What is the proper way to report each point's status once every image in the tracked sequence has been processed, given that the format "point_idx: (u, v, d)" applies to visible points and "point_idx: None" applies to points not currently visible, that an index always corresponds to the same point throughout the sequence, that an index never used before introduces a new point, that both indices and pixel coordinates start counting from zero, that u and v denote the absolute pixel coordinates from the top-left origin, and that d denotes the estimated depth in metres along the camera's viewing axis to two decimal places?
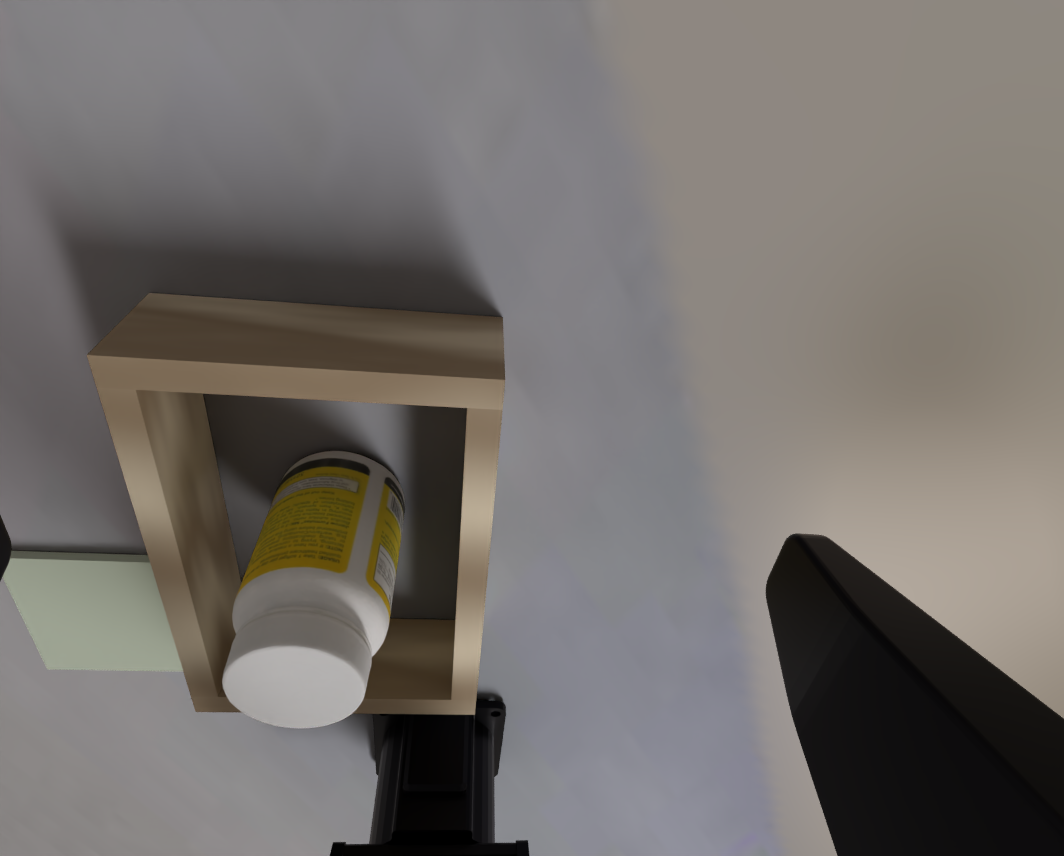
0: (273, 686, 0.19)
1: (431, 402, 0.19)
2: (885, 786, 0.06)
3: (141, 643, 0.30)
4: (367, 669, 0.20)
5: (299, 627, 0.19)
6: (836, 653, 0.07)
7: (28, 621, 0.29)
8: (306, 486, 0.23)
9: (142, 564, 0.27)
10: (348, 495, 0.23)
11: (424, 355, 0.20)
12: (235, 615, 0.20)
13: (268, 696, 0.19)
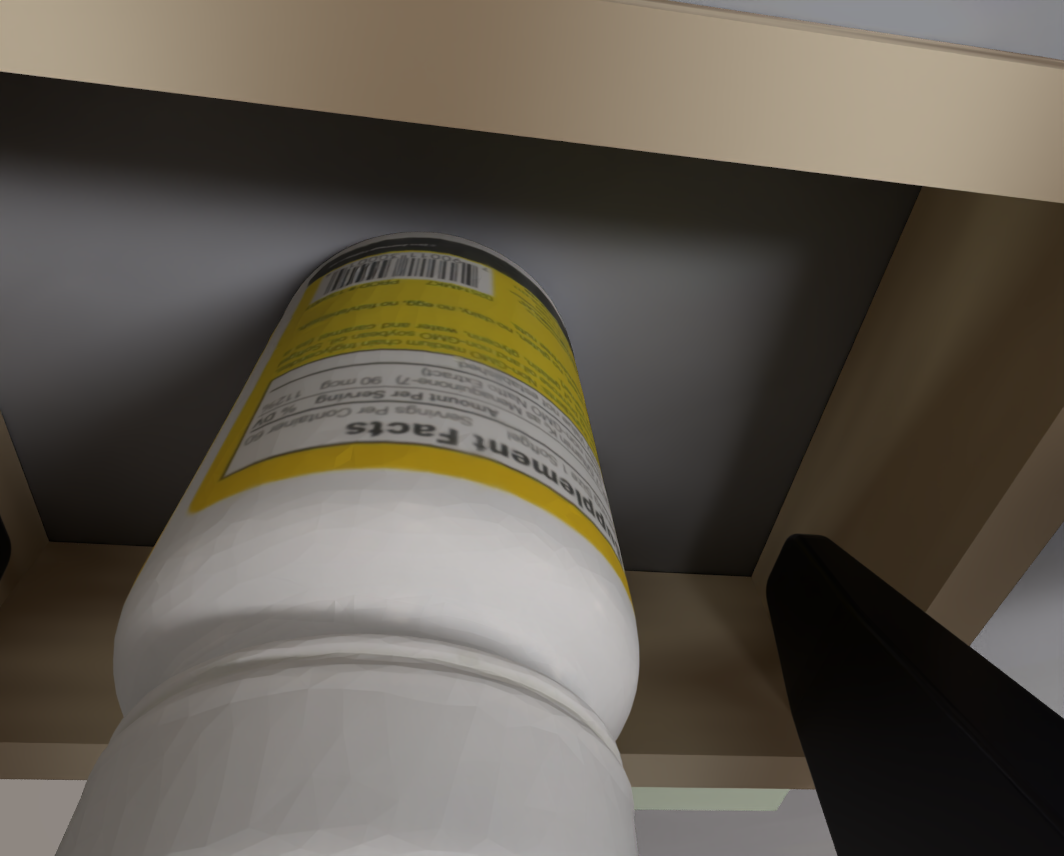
0: None
1: None
2: (885, 786, 0.06)
3: None
4: (313, 752, 0.04)
5: None
6: (836, 653, 0.07)
7: (668, 806, 0.19)
8: None
9: None
10: None
11: None
12: None
13: None
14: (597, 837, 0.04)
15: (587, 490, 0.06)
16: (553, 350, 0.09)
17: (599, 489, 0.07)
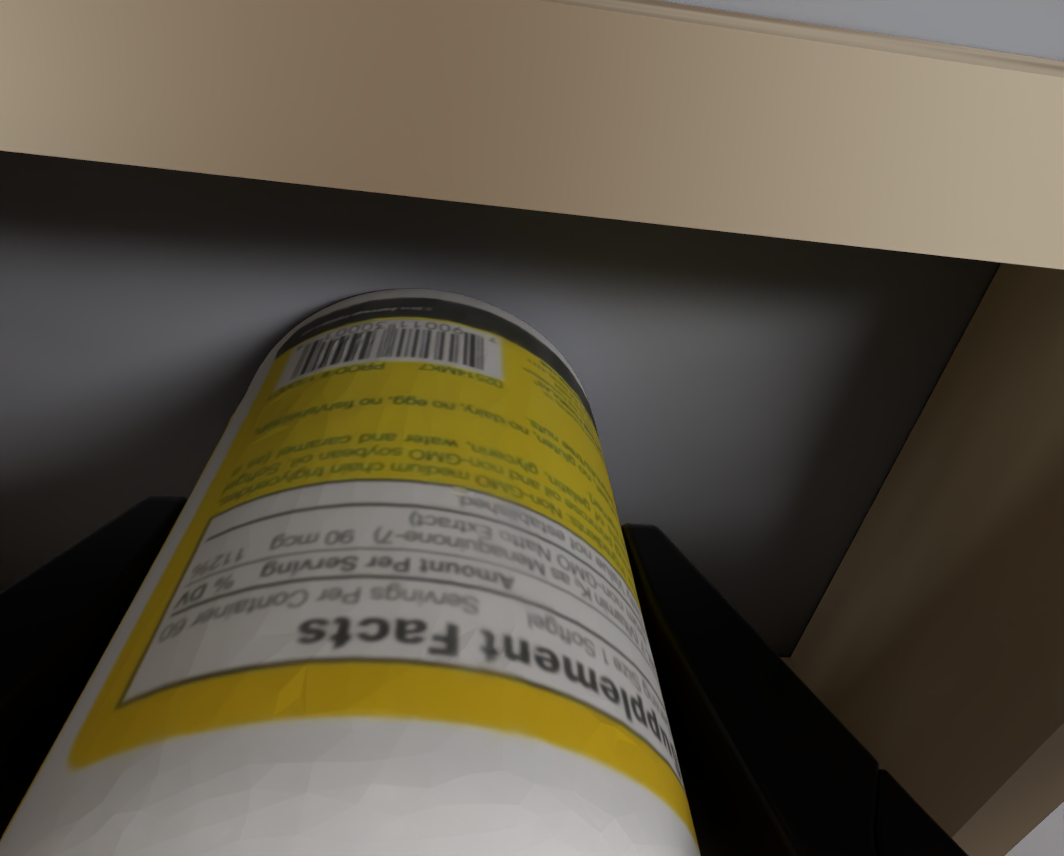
0: None
1: None
2: None
3: None
4: None
5: None
6: None
7: None
8: None
9: None
10: None
11: None
12: None
13: None
14: None
15: (634, 680, 0.05)
16: (578, 447, 0.07)
17: (645, 658, 0.05)
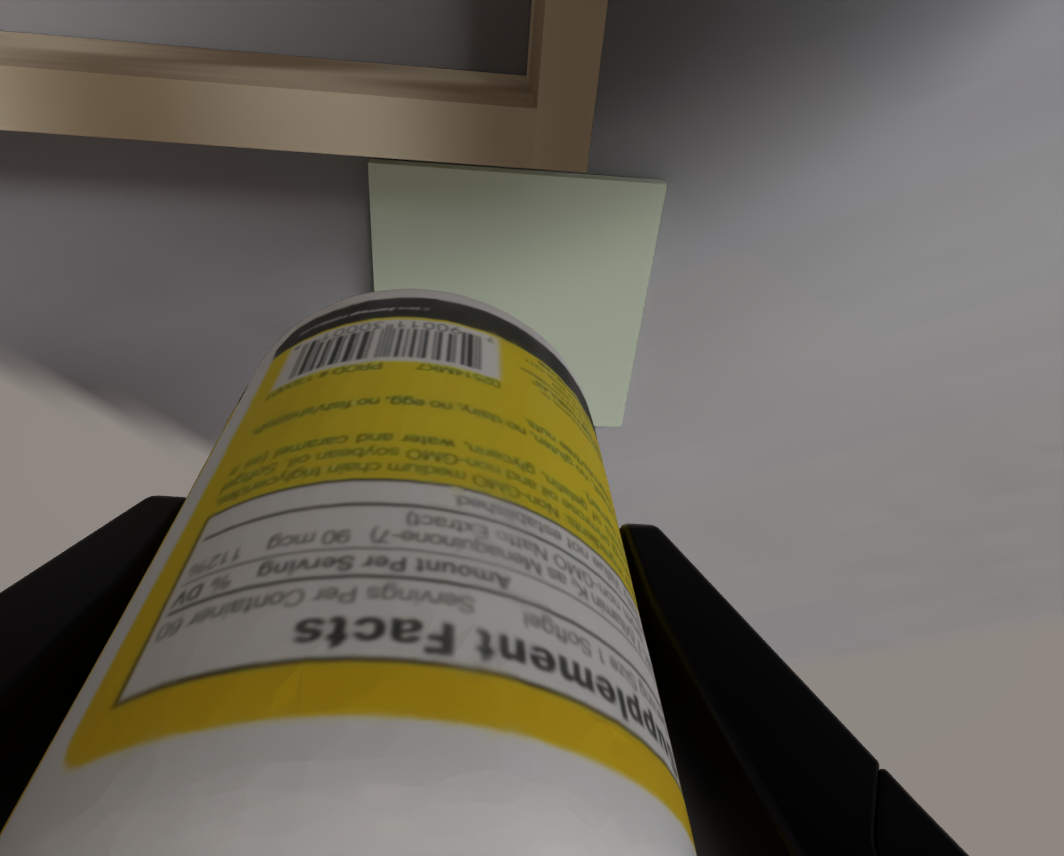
0: None
1: None
2: None
3: (573, 281, 0.17)
4: None
5: None
6: None
7: None
8: None
9: (377, 228, 0.16)
10: None
11: None
12: None
13: None
14: None
15: (630, 678, 0.05)
16: (575, 446, 0.07)
17: (642, 658, 0.05)
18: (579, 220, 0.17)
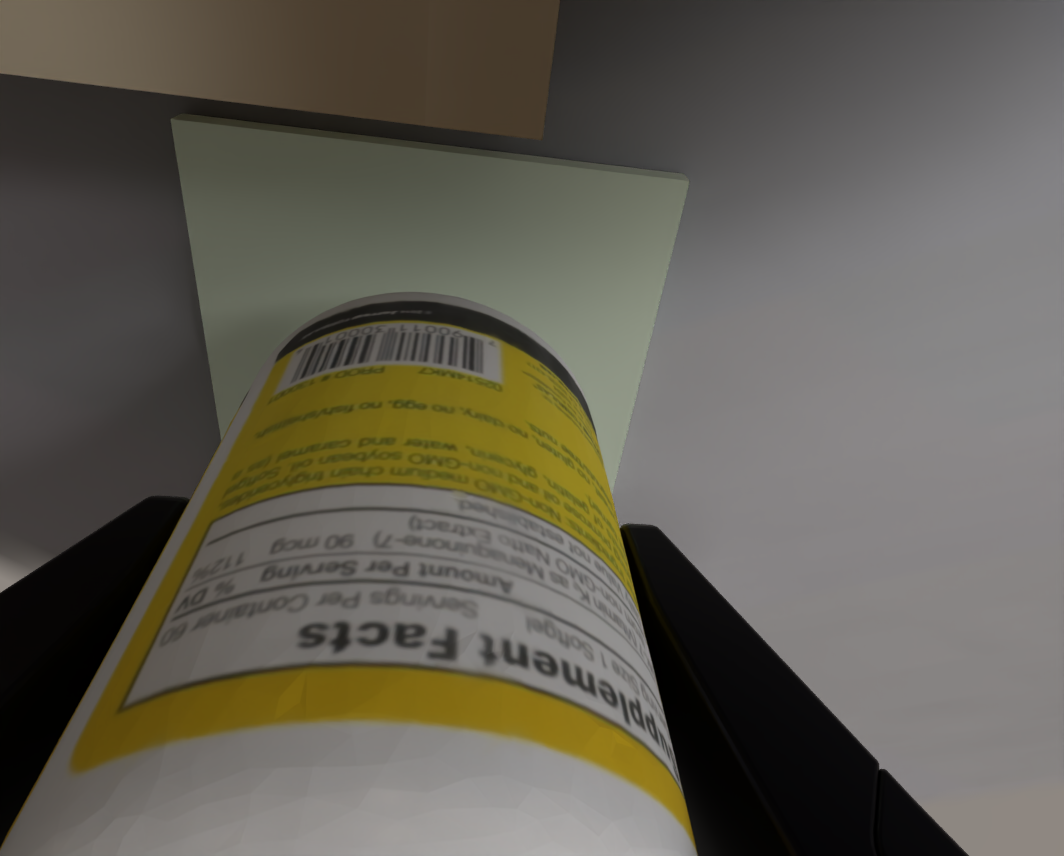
0: None
1: None
2: None
3: None
4: None
5: None
6: None
7: None
8: None
9: (199, 233, 0.10)
10: None
11: None
12: None
13: None
14: None
15: (633, 683, 0.05)
16: (577, 450, 0.07)
17: (644, 661, 0.05)
18: (541, 235, 0.10)
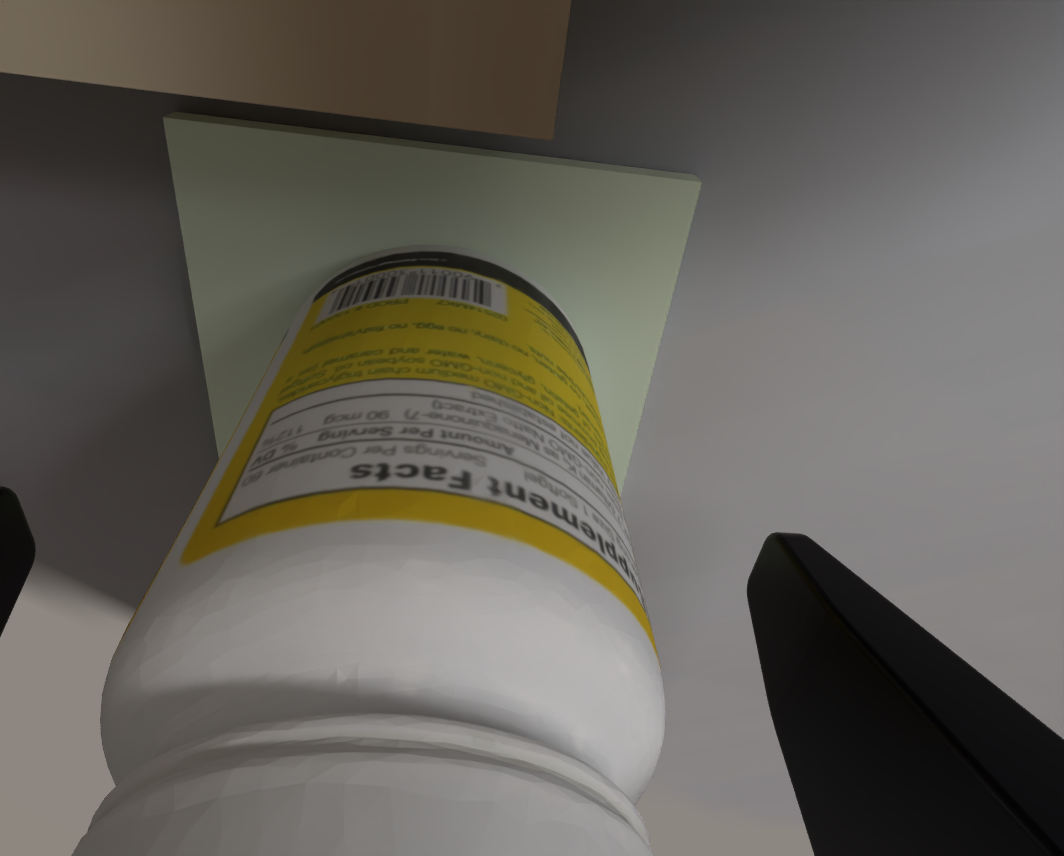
0: None
1: None
2: (860, 786, 0.06)
3: None
4: None
5: None
6: (813, 653, 0.07)
7: None
8: None
9: (193, 236, 0.09)
10: None
11: None
12: None
13: None
14: None
15: (609, 532, 0.06)
16: (570, 372, 0.08)
17: (621, 527, 0.07)
18: (548, 238, 0.10)
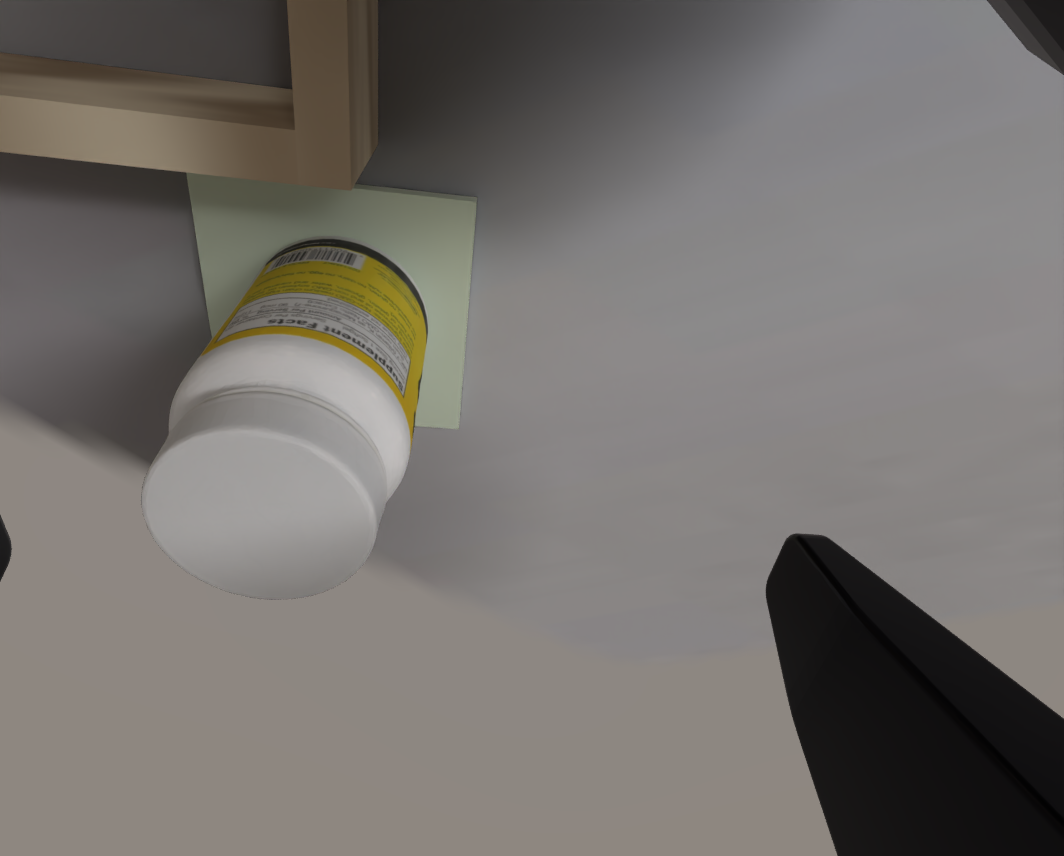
0: (254, 546, 0.12)
1: None
2: (885, 786, 0.06)
3: None
4: (243, 410, 0.11)
5: None
6: (836, 653, 0.07)
7: None
8: None
9: (201, 231, 0.17)
10: None
11: None
12: None
13: (282, 555, 0.12)
14: (347, 452, 0.12)
15: (384, 356, 0.14)
16: (393, 298, 0.16)
17: (398, 360, 0.14)
18: (396, 232, 0.18)
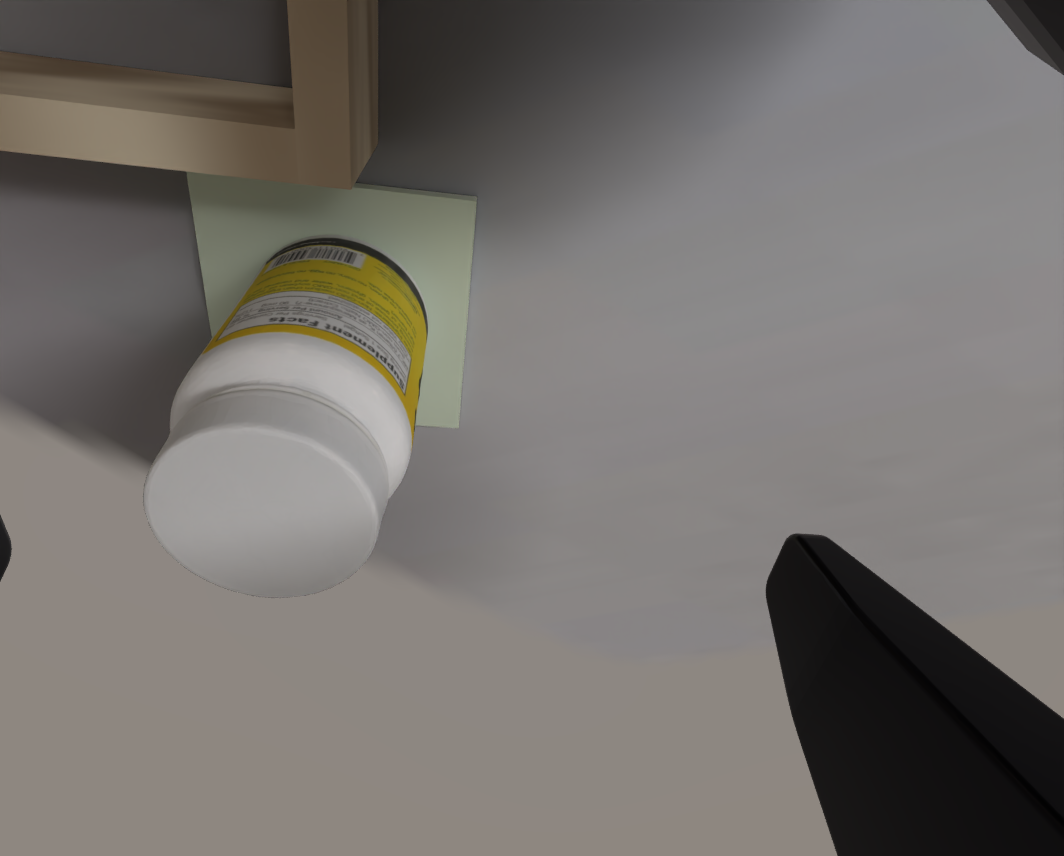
0: (256, 544, 0.12)
1: None
2: (885, 786, 0.06)
3: None
4: (245, 408, 0.11)
5: None
6: (836, 653, 0.07)
7: None
8: None
9: (201, 230, 0.17)
10: None
11: None
12: None
13: (284, 552, 0.12)
14: (349, 450, 0.12)
15: (385, 354, 0.14)
16: (393, 297, 0.16)
17: (399, 358, 0.14)
18: (396, 232, 0.18)
